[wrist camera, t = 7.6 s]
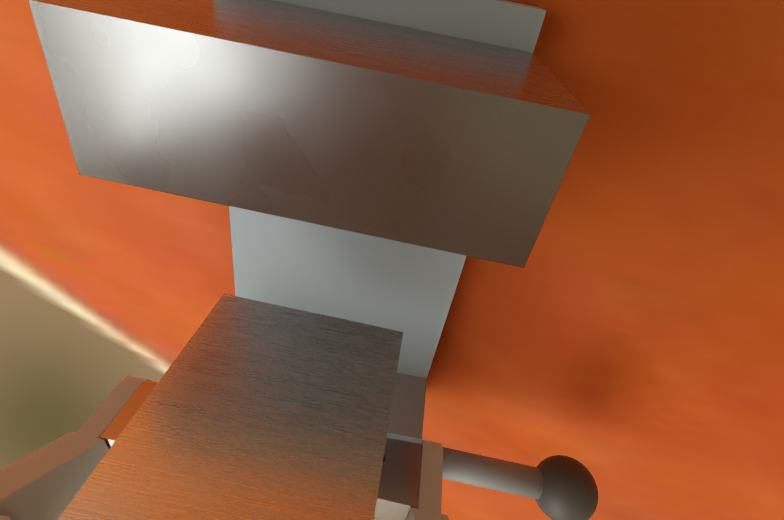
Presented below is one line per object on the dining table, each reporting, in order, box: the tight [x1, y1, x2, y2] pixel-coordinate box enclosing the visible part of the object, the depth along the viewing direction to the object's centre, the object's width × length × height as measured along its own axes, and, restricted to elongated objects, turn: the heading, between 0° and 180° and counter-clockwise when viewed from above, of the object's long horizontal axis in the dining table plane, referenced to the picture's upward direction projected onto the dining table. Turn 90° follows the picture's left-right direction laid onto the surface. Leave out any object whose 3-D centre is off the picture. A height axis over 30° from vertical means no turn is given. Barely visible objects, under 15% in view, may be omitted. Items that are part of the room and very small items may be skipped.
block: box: [57, 294, 403, 520], centre depth 10 cm, size 4×5×6 cm
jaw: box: [28, 0, 590, 268], centre depth 10 cm, size 3×9×6 cm, turn 81°
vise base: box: [229, 0, 598, 520], centre depth 14 cm, size 18×17×8 cm
